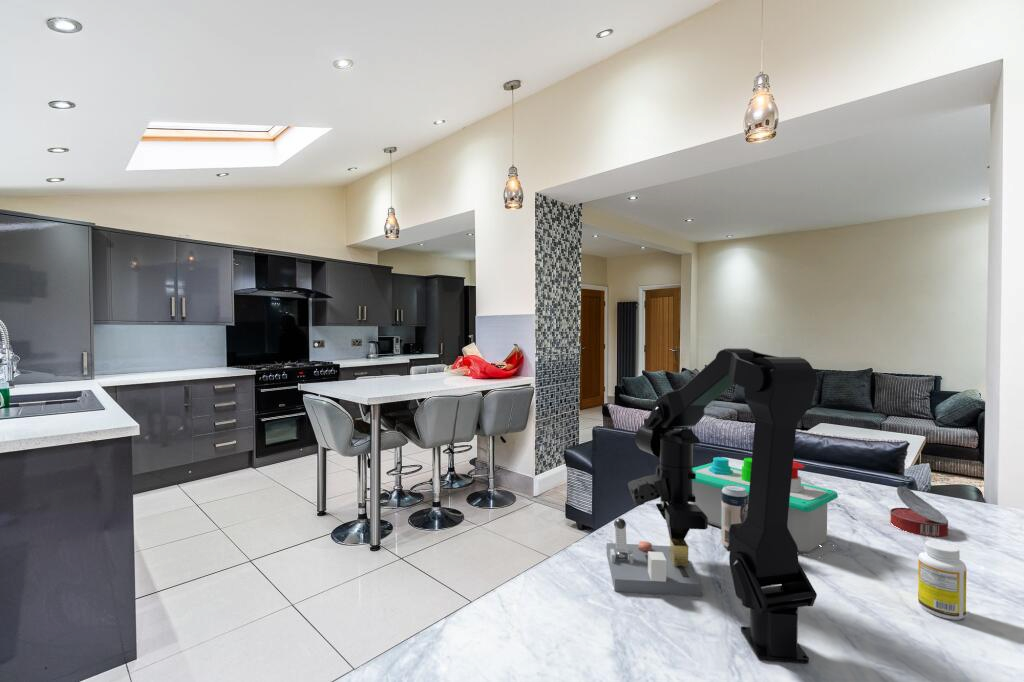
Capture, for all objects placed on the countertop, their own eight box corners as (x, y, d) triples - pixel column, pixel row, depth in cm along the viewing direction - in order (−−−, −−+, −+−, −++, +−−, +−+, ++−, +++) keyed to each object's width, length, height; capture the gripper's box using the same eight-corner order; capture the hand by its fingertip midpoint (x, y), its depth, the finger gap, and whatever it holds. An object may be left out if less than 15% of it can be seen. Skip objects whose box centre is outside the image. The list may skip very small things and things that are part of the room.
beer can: (750, 553, 94) (750, 492, 94) (724, 550, 95) (724, 490, 94) (743, 542, 98) (744, 484, 98) (718, 540, 99) (719, 483, 99)
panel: (701, 596, 78) (702, 575, 78) (614, 591, 79) (614, 570, 79) (680, 556, 92) (680, 539, 92) (606, 553, 93) (606, 535, 93)
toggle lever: (628, 559, 85) (626, 517, 88) (616, 558, 85) (614, 517, 88) (627, 560, 86) (625, 519, 90) (615, 559, 87) (613, 519, 90)
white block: (666, 581, 78) (666, 560, 78) (651, 580, 78) (651, 559, 78) (662, 572, 81) (662, 552, 81) (647, 571, 81) (648, 551, 81)
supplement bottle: (939, 600, 77) (940, 537, 77) (976, 620, 72) (977, 553, 72) (908, 602, 77) (909, 538, 77) (942, 622, 71) (943, 554, 71)
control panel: (709, 438, 123) (843, 463, 99) (708, 502, 123) (842, 542, 99) (674, 446, 114) (813, 476, 90) (673, 515, 114) (812, 563, 90)
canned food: (916, 541, 111) (935, 503, 111) (952, 556, 101) (972, 514, 101) (869, 516, 112) (888, 478, 113) (899, 528, 102) (920, 487, 103)
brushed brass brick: (688, 566, 83) (688, 546, 83) (674, 565, 83) (674, 545, 83) (683, 558, 86) (684, 539, 86) (670, 557, 86) (670, 538, 86)
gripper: (624, 450, 98) (624, 526, 98) (639, 476, 79) (638, 570, 79) (680, 452, 97) (680, 529, 97) (709, 479, 78) (708, 574, 78)
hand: (675, 548), depth 88 cm, fingers closed
